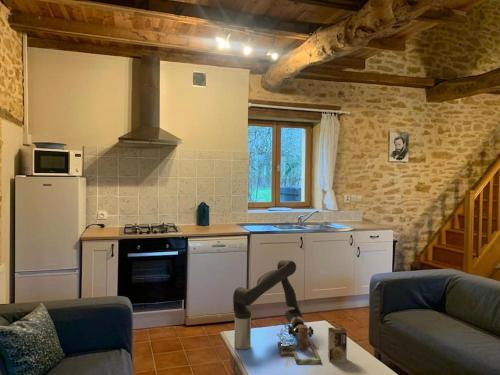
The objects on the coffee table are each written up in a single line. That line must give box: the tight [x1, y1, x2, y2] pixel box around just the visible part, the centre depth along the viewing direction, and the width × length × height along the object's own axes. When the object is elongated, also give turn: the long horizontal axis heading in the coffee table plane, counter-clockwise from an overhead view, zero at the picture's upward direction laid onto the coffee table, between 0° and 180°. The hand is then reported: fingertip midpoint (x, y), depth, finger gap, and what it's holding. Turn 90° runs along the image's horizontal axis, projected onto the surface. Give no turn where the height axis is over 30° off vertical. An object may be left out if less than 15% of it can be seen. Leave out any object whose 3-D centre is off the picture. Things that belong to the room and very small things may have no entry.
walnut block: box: [297, 324, 309, 352], centre depth 208 cm, size 4×4×13 cm
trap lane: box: [277, 340, 322, 365], centre depth 203 cm, size 20×24×2 cm
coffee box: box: [327, 327, 348, 364], centre depth 195 cm, size 9×6×16 cm
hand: (302, 335), depth 208 cm, fingers open, 8 cm apart
